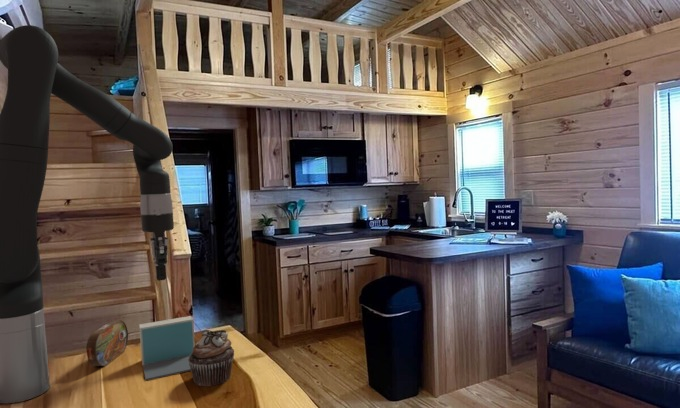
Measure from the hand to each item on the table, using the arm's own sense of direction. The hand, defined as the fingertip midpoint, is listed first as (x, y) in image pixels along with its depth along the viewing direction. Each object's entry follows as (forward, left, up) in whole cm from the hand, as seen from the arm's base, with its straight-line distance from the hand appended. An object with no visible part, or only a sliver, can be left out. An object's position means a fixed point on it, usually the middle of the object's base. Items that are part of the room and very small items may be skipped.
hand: (161, 279), depth 115 cm
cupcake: (+7, -24, -18) cm, 31 cm away
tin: (-13, +1, -18) cm, 23 cm away
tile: (0, -7, -18) cm, 19 cm away
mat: (0, -13, -18) cm, 22 cm away
